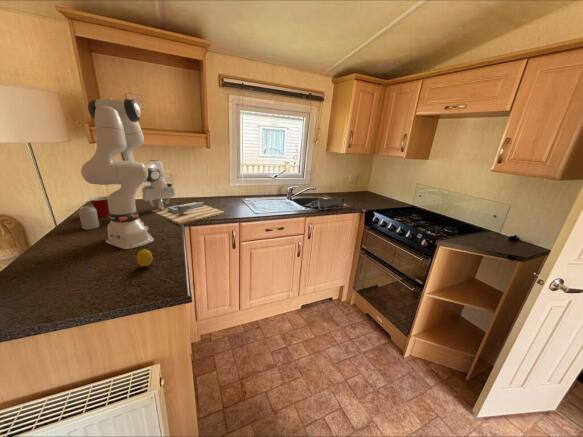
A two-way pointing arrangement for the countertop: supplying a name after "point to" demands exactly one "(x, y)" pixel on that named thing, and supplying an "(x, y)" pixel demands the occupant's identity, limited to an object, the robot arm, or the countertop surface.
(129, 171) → the robot arm
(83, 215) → the can
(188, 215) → the board
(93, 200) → the plastic cup
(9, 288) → the countertop surface
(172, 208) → the link
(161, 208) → the pin
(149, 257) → the lemon
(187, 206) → the keeper
